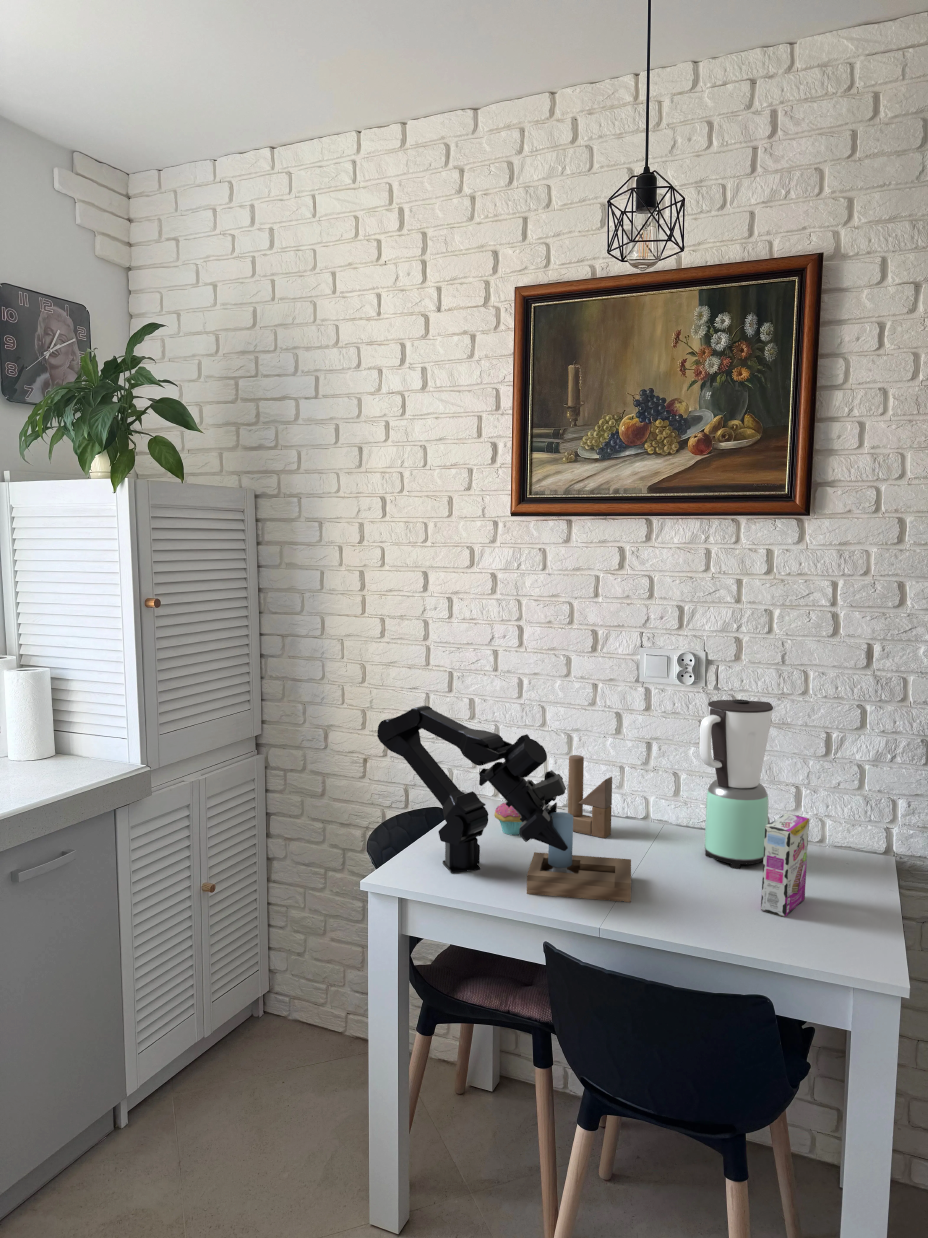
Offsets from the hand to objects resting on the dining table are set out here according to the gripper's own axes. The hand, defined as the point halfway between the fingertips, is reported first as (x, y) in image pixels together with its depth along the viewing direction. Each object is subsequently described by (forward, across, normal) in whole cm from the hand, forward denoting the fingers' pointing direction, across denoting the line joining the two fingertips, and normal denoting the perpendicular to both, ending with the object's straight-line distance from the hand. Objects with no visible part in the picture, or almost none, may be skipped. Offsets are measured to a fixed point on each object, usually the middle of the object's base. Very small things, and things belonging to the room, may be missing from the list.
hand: (567, 845), depth 175 cm
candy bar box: (+35, -2, -24) cm, 42 cm away
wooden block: (+8, +33, +4) cm, 35 cm away
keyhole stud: (+4, 0, +6) cm, 7 cm away
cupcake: (-5, +30, +17) cm, 35 cm away
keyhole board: (+8, 0, +4) cm, 8 cm away
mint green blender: (+30, +22, -19) cm, 42 cm away
